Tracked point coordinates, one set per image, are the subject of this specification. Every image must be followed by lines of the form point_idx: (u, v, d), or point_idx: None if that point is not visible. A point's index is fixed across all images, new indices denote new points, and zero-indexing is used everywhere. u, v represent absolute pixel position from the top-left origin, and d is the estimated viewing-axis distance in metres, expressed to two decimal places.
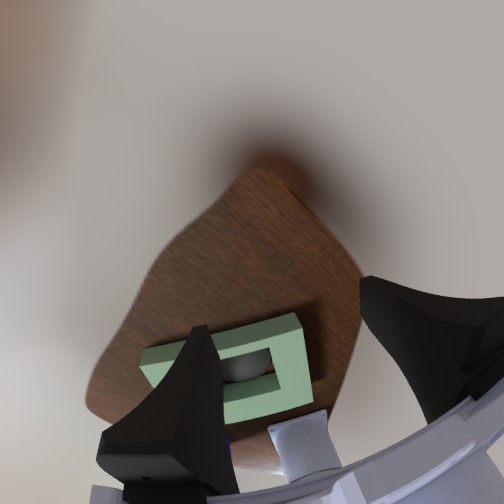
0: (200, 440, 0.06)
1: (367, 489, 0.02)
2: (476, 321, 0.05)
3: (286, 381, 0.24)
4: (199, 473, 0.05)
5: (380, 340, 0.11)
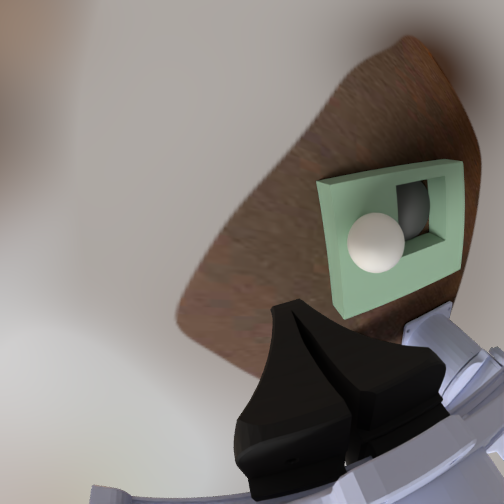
0: None
1: (367, 489, 0.02)
2: (368, 382, 0.05)
3: (450, 230, 0.20)
4: (345, 439, 0.05)
5: None
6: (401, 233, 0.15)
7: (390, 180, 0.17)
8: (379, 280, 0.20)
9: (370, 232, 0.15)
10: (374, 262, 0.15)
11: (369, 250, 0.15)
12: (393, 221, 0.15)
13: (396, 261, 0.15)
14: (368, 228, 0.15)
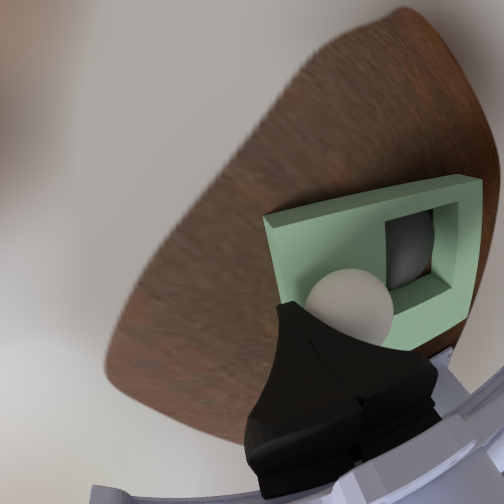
0: None
1: (367, 489, 0.02)
2: (356, 388, 0.05)
3: (460, 273, 0.14)
4: (355, 435, 0.05)
5: None
6: (389, 302, 0.10)
7: (376, 214, 0.12)
8: None
9: (340, 309, 0.09)
10: None
11: None
12: (377, 285, 0.10)
13: (380, 344, 0.10)
14: (336, 302, 0.10)
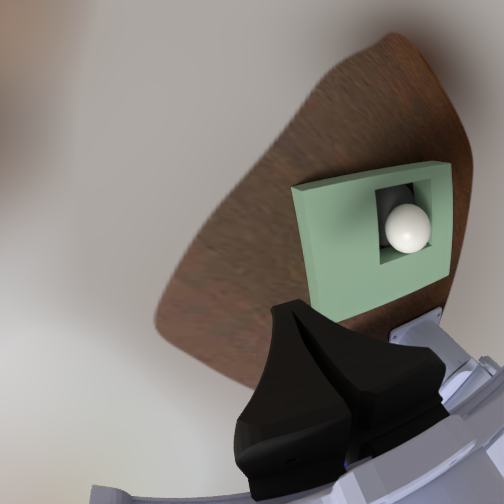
0: None
1: (367, 489, 0.02)
2: (368, 382, 0.05)
3: (437, 234, 0.20)
4: (345, 439, 0.05)
5: None
6: (392, 214, 0.19)
7: (368, 184, 0.17)
8: (358, 288, 0.20)
9: None
10: None
11: None
12: (401, 207, 0.18)
13: None
14: None
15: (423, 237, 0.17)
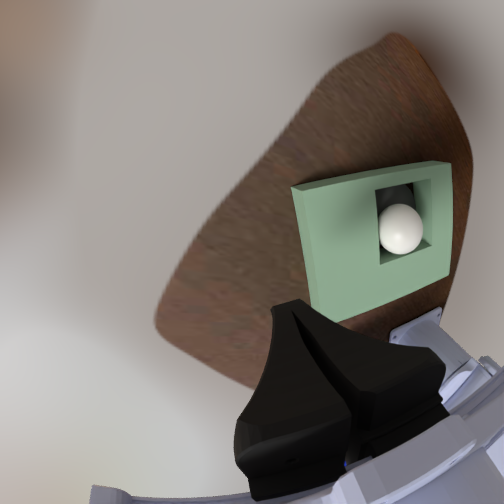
0: None
1: (367, 489, 0.02)
2: (368, 382, 0.05)
3: (437, 234, 0.20)
4: (345, 439, 0.05)
5: None
6: (381, 213, 0.20)
7: (368, 184, 0.17)
8: (358, 288, 0.20)
9: None
10: None
11: None
12: (389, 207, 0.19)
13: None
14: None
15: (404, 238, 0.17)
